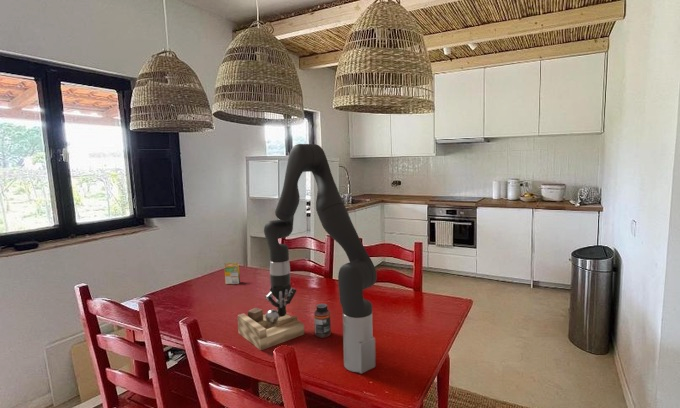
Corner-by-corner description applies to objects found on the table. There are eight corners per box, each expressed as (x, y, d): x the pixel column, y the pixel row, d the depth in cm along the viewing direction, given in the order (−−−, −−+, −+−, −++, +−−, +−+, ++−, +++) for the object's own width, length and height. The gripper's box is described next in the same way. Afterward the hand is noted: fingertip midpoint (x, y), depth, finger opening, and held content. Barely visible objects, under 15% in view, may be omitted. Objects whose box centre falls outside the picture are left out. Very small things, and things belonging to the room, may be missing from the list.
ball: (282, 320, 138) (279, 309, 137) (271, 327, 135) (268, 315, 134) (276, 317, 142) (272, 305, 141) (264, 323, 139) (261, 311, 138)
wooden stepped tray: (304, 334, 137) (303, 316, 136) (260, 350, 125) (259, 331, 125) (279, 319, 150) (279, 302, 150) (238, 332, 139) (237, 315, 138)
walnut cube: (263, 319, 141) (262, 309, 140) (255, 323, 138) (254, 313, 137) (256, 317, 143) (255, 307, 143) (248, 321, 140) (247, 311, 140)
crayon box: (240, 282, 201) (239, 261, 199) (239, 283, 198) (237, 263, 196) (226, 282, 200) (225, 262, 199) (225, 284, 197) (224, 263, 196)
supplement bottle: (322, 329, 140) (321, 301, 139) (334, 333, 136) (333, 304, 135) (311, 335, 136) (310, 306, 134) (323, 340, 132) (322, 309, 131)
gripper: (269, 277, 132) (271, 323, 133) (300, 270, 140) (301, 313, 142) (259, 273, 137) (261, 317, 139) (289, 266, 146) (291, 308, 148)
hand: (281, 315), depth 141 cm, fingers closed
